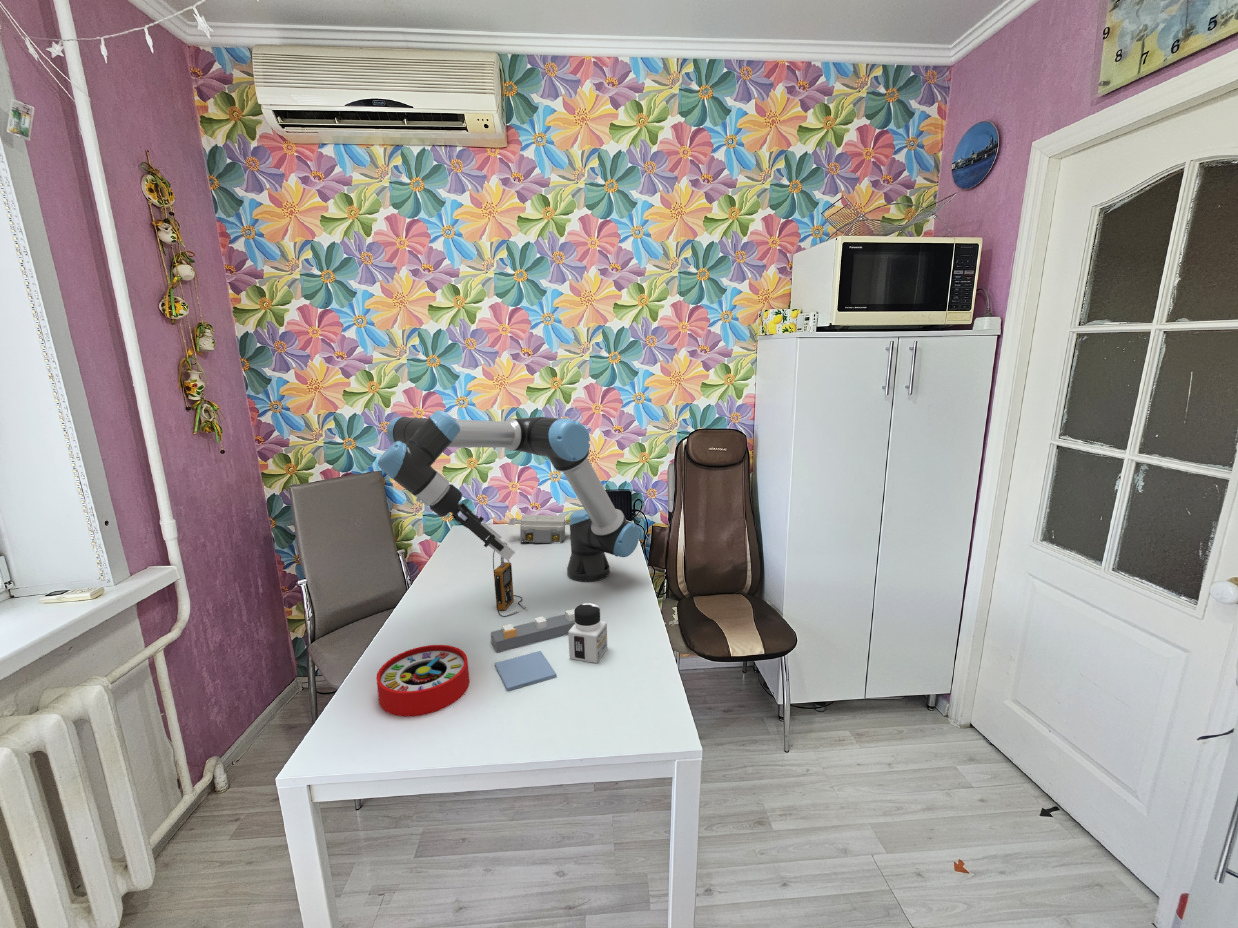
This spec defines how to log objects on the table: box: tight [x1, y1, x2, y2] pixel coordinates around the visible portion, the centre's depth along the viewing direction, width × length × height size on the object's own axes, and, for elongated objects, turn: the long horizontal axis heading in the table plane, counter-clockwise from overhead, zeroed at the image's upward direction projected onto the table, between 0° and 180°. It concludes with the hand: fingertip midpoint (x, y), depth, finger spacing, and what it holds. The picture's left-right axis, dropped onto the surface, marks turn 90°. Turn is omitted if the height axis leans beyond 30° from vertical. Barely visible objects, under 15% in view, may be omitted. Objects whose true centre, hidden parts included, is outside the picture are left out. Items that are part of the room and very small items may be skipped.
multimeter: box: [492, 541, 528, 618], centre depth 166 cm, size 15×10×20 cm
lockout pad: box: [494, 650, 558, 692], centre depth 133 cm, size 12×12×1 cm
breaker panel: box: [490, 608, 575, 653], centre depth 149 cm, size 26×6×5 cm, turn 116°
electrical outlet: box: [507, 514, 570, 544], centre depth 228 cm, size 12×28×10 cm, turn 94°
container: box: [567, 602, 608, 664], centre depth 139 cm, size 8×8×13 cm
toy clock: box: [375, 644, 470, 718], centre depth 126 cm, size 20×6×20 cm
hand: (504, 548), depth 136 cm, fingers open, 13 cm apart
